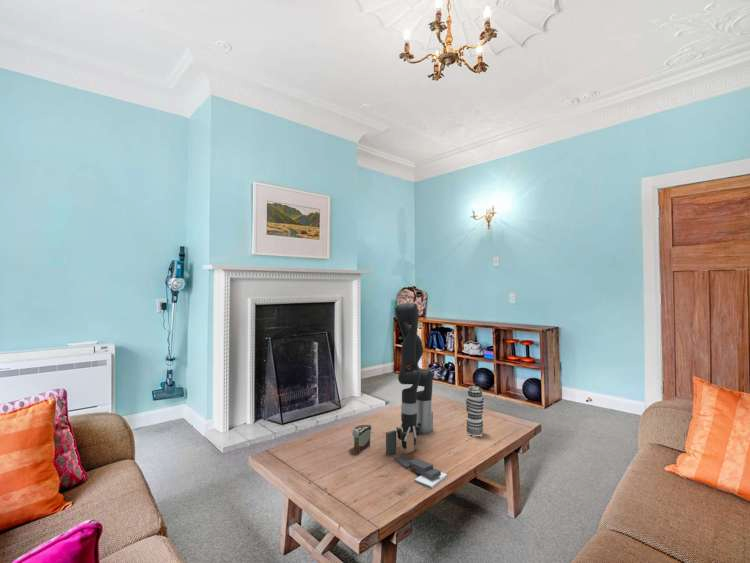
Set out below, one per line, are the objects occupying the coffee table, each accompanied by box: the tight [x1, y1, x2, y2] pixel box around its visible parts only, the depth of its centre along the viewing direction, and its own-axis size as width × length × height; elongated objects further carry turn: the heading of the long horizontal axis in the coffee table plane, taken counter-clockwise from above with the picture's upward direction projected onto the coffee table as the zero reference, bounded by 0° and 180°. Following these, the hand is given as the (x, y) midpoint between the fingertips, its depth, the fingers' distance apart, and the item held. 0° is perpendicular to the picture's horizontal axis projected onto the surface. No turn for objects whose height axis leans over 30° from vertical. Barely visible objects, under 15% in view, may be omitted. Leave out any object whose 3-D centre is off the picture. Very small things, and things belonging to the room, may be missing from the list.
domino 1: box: [385, 430, 397, 456], centre depth 175 cm, size 5×2×10 cm, turn 124°
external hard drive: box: [413, 471, 448, 490], centre depth 152 cm, size 2×8×12 cm
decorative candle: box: [465, 385, 485, 437], centre depth 199 cm, size 9×9×25 cm
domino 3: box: [403, 432, 415, 454], centre depth 177 cm, size 5×2×10 cm, turn 124°
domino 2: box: [393, 454, 414, 470], centre depth 166 cm, size 5×2×10 cm
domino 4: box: [409, 458, 434, 472], centre depth 158 cm, size 5×2×10 cm
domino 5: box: [414, 467, 442, 479], centre depth 154 cm, size 5×2×10 cm
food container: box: [351, 424, 372, 454], centre depth 180 cm, size 12×6×10 cm, turn 149°
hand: (408, 446), depth 177 cm, fingers closed on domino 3, 5 cm apart
